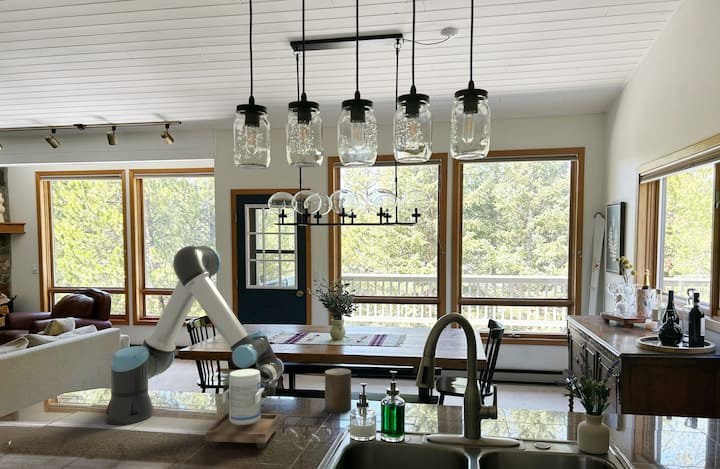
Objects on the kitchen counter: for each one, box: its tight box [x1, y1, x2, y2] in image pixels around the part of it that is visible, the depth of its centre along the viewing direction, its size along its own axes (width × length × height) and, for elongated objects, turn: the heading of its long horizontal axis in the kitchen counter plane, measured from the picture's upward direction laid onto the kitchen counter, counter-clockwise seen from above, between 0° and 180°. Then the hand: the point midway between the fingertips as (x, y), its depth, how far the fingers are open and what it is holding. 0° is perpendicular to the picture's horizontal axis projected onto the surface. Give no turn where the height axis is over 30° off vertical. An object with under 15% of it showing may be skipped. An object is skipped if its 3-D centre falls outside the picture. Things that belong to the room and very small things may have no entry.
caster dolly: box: [205, 412, 281, 450], centre depth 140 cm, size 18×16×5 cm
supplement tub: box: [228, 368, 262, 425], centre depth 141 cm, size 10×10×15 cm
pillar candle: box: [324, 368, 352, 414], centre depth 167 cm, size 10×10×15 cm
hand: (240, 398), depth 137 cm, fingers closed on supplement tub, 9 cm apart
